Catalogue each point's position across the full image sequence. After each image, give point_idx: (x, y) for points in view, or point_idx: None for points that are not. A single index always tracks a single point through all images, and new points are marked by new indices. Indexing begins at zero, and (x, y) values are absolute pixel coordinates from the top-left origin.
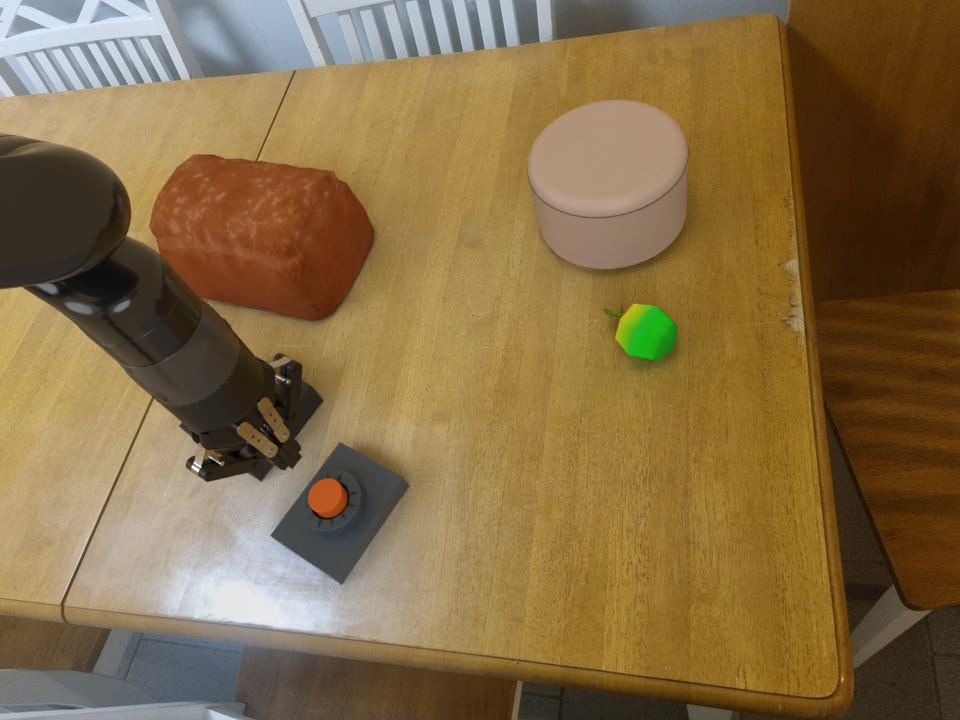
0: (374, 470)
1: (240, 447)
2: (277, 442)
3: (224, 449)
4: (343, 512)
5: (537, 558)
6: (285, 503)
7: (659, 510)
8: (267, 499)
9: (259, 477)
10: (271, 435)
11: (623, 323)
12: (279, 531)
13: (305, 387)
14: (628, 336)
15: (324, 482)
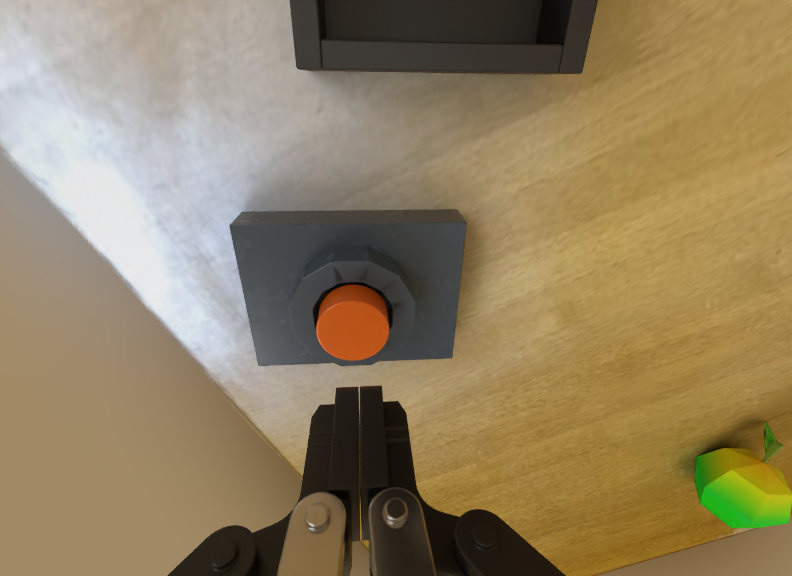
0: (442, 315)
1: (248, 571)
2: (365, 524)
3: None
4: None
5: (430, 483)
6: (305, 166)
7: (522, 527)
8: (287, 119)
9: (310, 70)
10: (371, 559)
11: (759, 497)
12: (249, 236)
13: (572, 60)
14: (736, 498)
15: (373, 317)
